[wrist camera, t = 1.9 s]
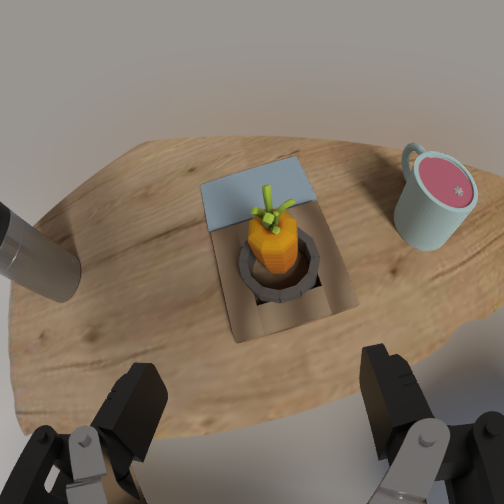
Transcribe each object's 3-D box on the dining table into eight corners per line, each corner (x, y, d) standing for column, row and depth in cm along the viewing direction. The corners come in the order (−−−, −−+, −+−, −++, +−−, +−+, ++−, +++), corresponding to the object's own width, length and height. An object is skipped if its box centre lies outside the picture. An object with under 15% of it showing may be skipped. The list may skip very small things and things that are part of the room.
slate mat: (209, 232, 39) (208, 231, 38) (201, 186, 43) (200, 185, 42) (317, 199, 38) (317, 198, 37) (296, 157, 42) (296, 156, 41)
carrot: (271, 246, 36) (251, 171, 22) (306, 259, 34) (306, 185, 21) (255, 280, 34) (223, 217, 21) (291, 294, 33) (283, 237, 19)
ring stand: (237, 343, 31) (230, 340, 28) (214, 237, 38) (206, 225, 35) (356, 306, 31) (363, 299, 27) (316, 206, 37) (316, 191, 34)
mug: (456, 243, 31) (489, 206, 22) (407, 257, 32) (437, 219, 23) (419, 170, 37) (436, 126, 28) (372, 178, 38) (384, 129, 29)
